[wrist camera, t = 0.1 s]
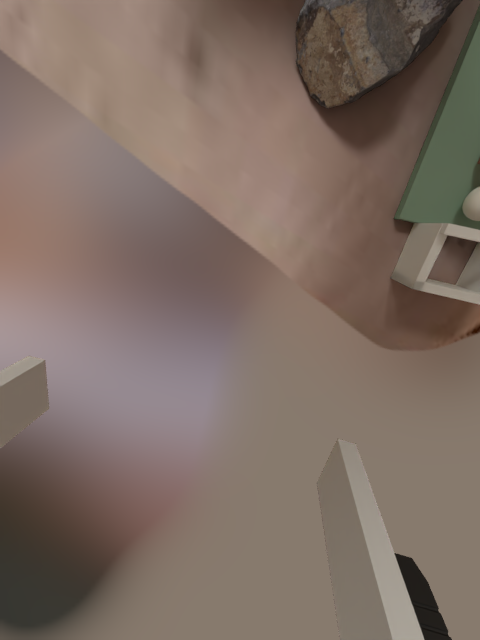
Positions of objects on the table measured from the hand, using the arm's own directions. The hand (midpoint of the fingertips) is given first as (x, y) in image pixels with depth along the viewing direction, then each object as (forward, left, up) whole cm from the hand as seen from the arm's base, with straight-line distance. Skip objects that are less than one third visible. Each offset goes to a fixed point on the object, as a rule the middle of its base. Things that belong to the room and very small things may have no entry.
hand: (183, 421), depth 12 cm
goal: (-9, +23, -28) cm, 37 cm away
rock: (-28, +6, -28) cm, 40 cm away
